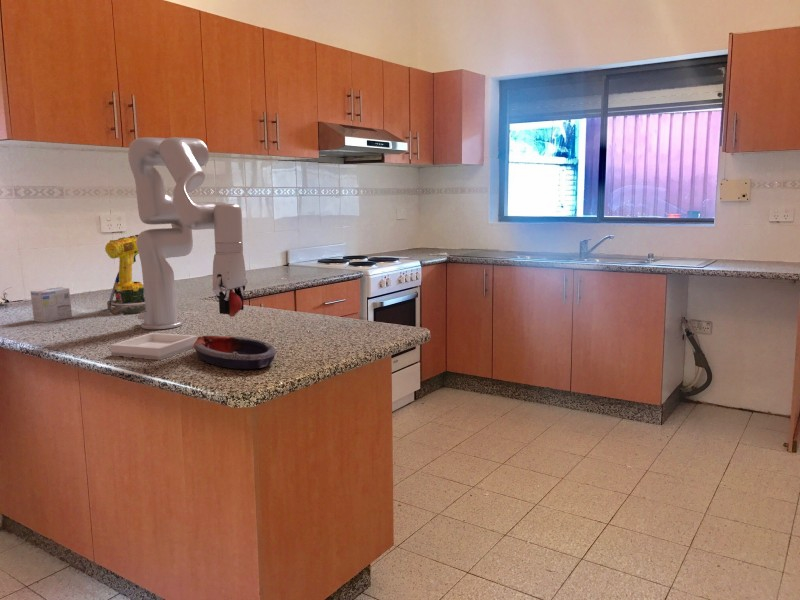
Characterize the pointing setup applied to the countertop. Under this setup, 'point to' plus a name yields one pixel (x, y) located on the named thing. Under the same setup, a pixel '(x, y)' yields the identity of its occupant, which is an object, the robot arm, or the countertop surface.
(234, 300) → the onion
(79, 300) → the countertop surface
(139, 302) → the cordless drill
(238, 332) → the countertop surface
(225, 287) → the robot arm
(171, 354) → the tray
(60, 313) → the light bulb box
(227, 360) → the dish
